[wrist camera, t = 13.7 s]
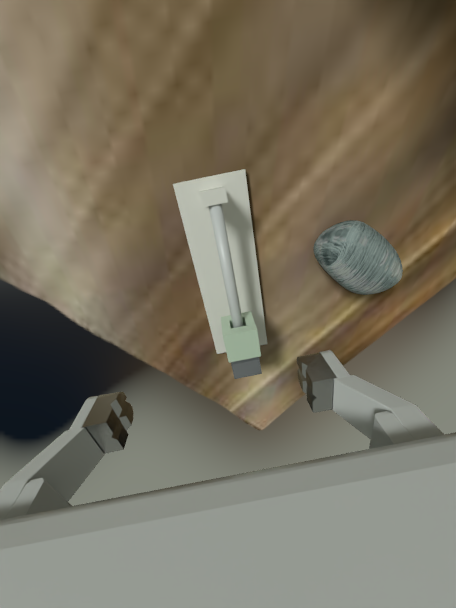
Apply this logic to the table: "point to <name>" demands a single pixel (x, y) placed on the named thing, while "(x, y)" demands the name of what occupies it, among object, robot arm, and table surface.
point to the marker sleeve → (240, 338)
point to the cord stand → (224, 255)
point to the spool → (358, 258)
